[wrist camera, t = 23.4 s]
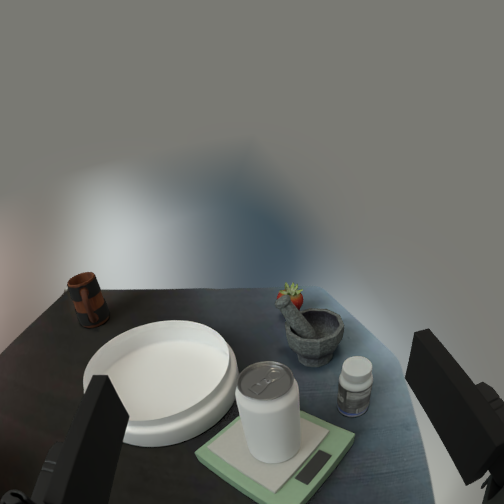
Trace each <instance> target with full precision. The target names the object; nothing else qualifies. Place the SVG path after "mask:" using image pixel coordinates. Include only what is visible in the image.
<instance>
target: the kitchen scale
mask: <svg viewBox="0 0 504 504" xmlns="http://www.w3.org/2000/svg"><path fill="white" fill-rule="evenodd" d="M300 427H301V444H300V448H299V450H298V451H297V453H296V454H295V455H294V456H293V457H291V458H290V459H288V460H286V461H284V462H280V463H265V462H262V461H259V460H258V459H256V458H255V457H254V456H253V455H252V454H251V453H250V451H249V448H248V445H247V441H246V438H245V434H244V430H243V426H242V422H241V418H240V415H239V416H238V417H237V418H236V419H235V420H234V421H232V422H231V423H230V424H229V425H228V426H226V427H225V428H224V429H223V430H222V431H220V432H219V433H218V434H217V435H216V436H214V437H213V438H212V439H211V440H209V441H208V442H207V443H206V444H204V445H203V446H202V447H201V448H199V449H198V450H197V451H196V452H195V454H196V456H197V458H198V460H199V461H200V462H201V463H202V464H204V465H205V466H206V467H207V468H209V469H210V470H211V471H213V472H214V473H215V474H217V475H218V476H219V477H221V478H222V479H224V480H225V481H226V482H228V483H229V484H230V485H232V486H233V487H235V488H236V489H238V490H239V491H241V492H242V493H243V494H245V495H246V496H248V497H249V498H251V499H253V500H254V501H256V502H257V503H259V504H306V503H307V502H308V501H309V499H310V498H311V497H312V496H313V495H314V494H315V492H316V491H317V490H318V489H319V488H320V486H321V485H322V484H323V483H324V482H325V480H326V479H327V478H328V477H329V475H330V474H331V473H332V471H333V470H334V469H335V468H336V466H337V465H338V464H339V462H340V461H341V460H342V458H343V457H344V456H345V454H346V453H347V452H348V450H349V449H350V448H351V446H352V445H353V443H354V438H355V434H354V433H352V432H349V431H347V430H344V429H342V428H340V427H337V426H335V425H333V424H330V423H328V422H326V421H323V420H321V419H319V418H317V417H314V416H312V415H310V414H308V413H305V412H303V411H301V410H300Z"/></svg>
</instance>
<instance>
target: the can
mask: <svg viewBox="0 0 504 504" xmlns="http://www.w3.org/2000/svg"><path fill="white" fill-rule="evenodd" d="M235 396H236V402H237V406H238V410H239V414H240V418H241V422H242V426H243V430H244V434H245V438H246V441H247V445H248V448H249V451H250V453H251V454H252V455H253V456H254V457H255V458H256V459H258V460H259V461H262V462H265V463H280V462H284V461H286V460H288V459H290V458H291V457H293V456H294V455H295V454H296V453H297V451H298V450H299V448H300V444H301V427H300V404H299V389H298V384H297V382H296V380H295V378H294V376H293V373H292V371H291V370H290V369H289V368H288V367H287V366H286V365H284V364H281V363H278V362H273V361H264V362H258V363H255V364H252V365H250V366H248V367H246V368H245V369H244V370H243V371H242V372H241V373H240V374H239V376H238V378H237V387H236V391H235Z"/></svg>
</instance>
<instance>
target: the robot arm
mask: <svg viewBox="0 0 504 504" xmlns="http://www.w3.org/2000/svg"><path fill="white" fill-rule="evenodd" d="M405 379H406V381H407V382H408V384H409V386H410V387H411V389H412V390H413V392H414V394H415V395H416V397H417V399H418V400H419V402H420V404H421V406H422V407H423V409H424V411H425V412H426V414H427V416H428V417H429V419H430V421H431V423H432V424H433V426H434V428H435V430H436V431H437V433H438V435H439V436H440V438H441V440H442V442H443V444H444V446H445V447H446V449H447V451H448V453H449V455H450V456H451V458H452V460H453V462H454V464H455V466H456V468H457V469H458V471H459V473H460V475H461V477H462V479H463V481H464V483H465V485H466V486H467V485H469V484H471V483H473V482H474V481H476V480H478V479H480V478H481V477H483V475H484V474H485V473H486V472H487V470H489V472H490V474H491V475H490V476H489V477H488V478H487V479H486V481H485V482H484V483H483V484H482V486H481V489H483V488H484V487H485V486H486V485H487V487H486V491H485V495H484V499H483V502H482V504H504V402H503V400H502V399H500V398H499V395H498V394H497V393H496V391H495V390H494V389H493V388H492V387H490V386H489V385H487V384H486V383H484V382H481V383H479V384H477V385H475V384H474V383H473V382H472V380H471V379H470V378H469V377H468V375H467V374H466V373H465V372H464V370H463V369H462V368H461V367H460V365H459V364H458V363H457V362H456V360H455V359H454V358H453V357H452V355H451V354H450V353H449V352H448V351H447V349H446V348H445V347H444V346H443V345H442V343H441V342H440V341H439V340H438V339H437V338H436V336H435V335H434V334H433V333H432V332H431V330H430V329H425V330H421V331H418V332H414V337H413V342H412V347H411V352H410V357H409V362H408V366H407V371H406V375H405ZM129 417H130V416H129V414H128V412H127V410H126V409H125V407H124V405H123V403H122V401H121V400H120V398H119V396H118V394H117V392H116V390H115V388H114V386H113V384H112V382H111V380H110V378H109V376H108V375H93V376H92V378H91V380H90V382H89V385H88V387H87V389H86V391H85V394H84V396H83V398H82V400H81V403H80V405H79V407H78V410H77V412H76V414H75V417H74V419H73V421H72V424H71V426H70V429H69V431H68V434H67V436H66V438H65V441H64V443H63V442H56V443H55V444H54V445H53V446H52V447H51V448H50V450H49V451H48V454H47V456H46V459H45V462H44V464H43V466H42V470H41V471H40V474H39V477H38V479H37V482H36V485H35V488H34V490H33V493H32V496H31V498H29V497H28V496H26V495H25V494H24V493H23V492H21V491H20V490H16V489H14V490H9V491H8V492H6V493H5V494H4V495H3V497H2V499H1V502H0V504H108V501H109V497H110V492H111V488H112V484H113V479H114V475H115V471H116V467H117V463H118V459H119V455H120V451H121V447H122V443H123V439H124V435H125V432H126V428H127V424H128V421H129Z"/></svg>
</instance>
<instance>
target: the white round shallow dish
mask: <svg viewBox="0 0 504 504" xmlns="http://www.w3.org/2000/svg"><path fill="white" fill-rule="evenodd" d="M93 375H108V376H109V378H110V380H111V382H112V384H113V386H114V388H115V390H116V392H117V394H118V396H119V398H120V400H121V401H122V403H123V405H124V407H125V409H126V410H127V412H128V414H129V416H130V417H129V421H128V424H127V428H126V432H125V435H124V439H123V442H125V443H128V444H132V445H136V446H143V447H159V446H167V445H173V444H177V443H180V442H183V441H186V440H189V439H191V438H194V437H196V436H198V435H200V434H201V433H203V432H205V431H207V430H208V429H209V428H211V427H212V426H214V425H215V424H216V423H217V422H218V421H219V420H220V419H221V418H222V417H223V416H224V415H225V414H226V413H227V412H228V410H229V409H230V408H231V406H232V404H233V403H234V401H235V398H236V396H235V391H236V387H237V378H238V376H239V371H238V366H237V361H236V357H235V355H234V352H233V351H232V349H231V347H230V346H229V345H228V343H226V342H225V340H224V339H223V337H222V336H221V335H220V334H219V333H218V332H216V331H215V330H213V329H212V328H210V327H208V326H205V325H203V324H200V323H195V322H190V321H179V320H173V321H161V322H155V323H150V324H146V325H142V326H139V327H136V328H133V329H131V330H128V331H126V332H124V333H122V334H120V335H118V336H117V337H115V338H113V339H112V340H110V341H109V342H107V343H106V344H105V345H104V346H102V347H101V348H100V349H99V350H98V351H97V352H96V353H95V355H94V356H93V357H92V358H91V360H90V361H89V363H88V365H87V367H86V370H85V373H84V378H83V386H84V394H85V391H86V389H87V387H88V385H89V382H90V380H91V378H92V376H93Z"/></svg>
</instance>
